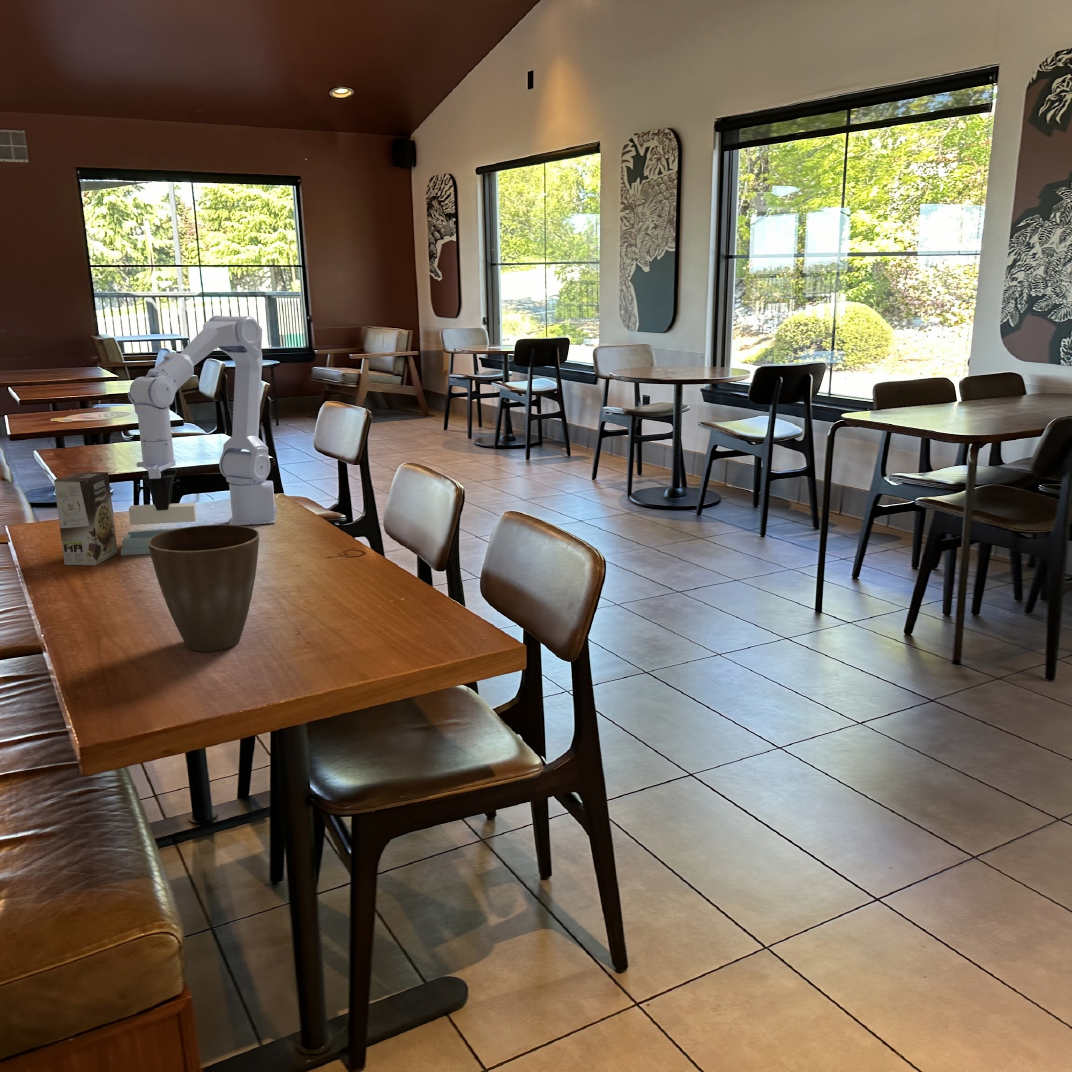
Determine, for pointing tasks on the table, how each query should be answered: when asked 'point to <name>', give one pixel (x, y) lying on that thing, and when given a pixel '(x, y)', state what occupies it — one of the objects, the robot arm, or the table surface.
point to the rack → (139, 541)
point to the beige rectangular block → (162, 514)
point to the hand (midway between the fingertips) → (163, 507)
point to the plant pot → (207, 581)
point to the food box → (86, 518)
